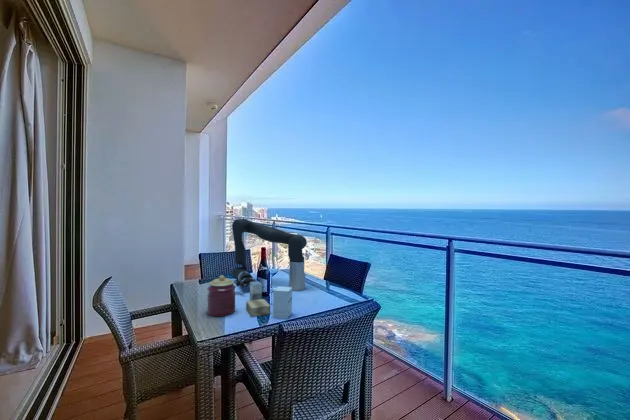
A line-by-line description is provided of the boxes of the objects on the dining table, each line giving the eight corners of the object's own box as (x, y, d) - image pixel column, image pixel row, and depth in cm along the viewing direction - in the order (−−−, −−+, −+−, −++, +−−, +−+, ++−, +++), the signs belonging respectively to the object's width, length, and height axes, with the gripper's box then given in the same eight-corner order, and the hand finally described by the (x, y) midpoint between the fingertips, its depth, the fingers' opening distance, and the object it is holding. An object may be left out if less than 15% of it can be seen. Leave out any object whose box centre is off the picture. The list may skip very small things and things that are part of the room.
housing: (258, 299, 161) (259, 281, 161) (261, 302, 156) (261, 283, 156) (249, 300, 159) (249, 282, 159) (252, 303, 154) (252, 284, 153)
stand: (263, 306, 150) (264, 298, 150) (270, 314, 140) (270, 305, 140) (246, 309, 146) (246, 301, 146) (251, 316, 136) (251, 308, 136)
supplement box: (287, 318, 134) (288, 291, 134) (272, 317, 136) (272, 290, 136) (292, 313, 141) (292, 287, 141) (277, 311, 143) (277, 285, 143)
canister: (208, 318, 133) (208, 279, 133) (206, 309, 145) (206, 273, 145) (237, 314, 138) (237, 277, 138) (233, 305, 150) (233, 271, 150)
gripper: (233, 273, 179) (238, 279, 164) (256, 271, 185) (263, 277, 170) (233, 285, 179) (238, 293, 164) (256, 283, 185) (263, 290, 170)
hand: (251, 285), depth 167 cm, fingers open, 8 cm apart
